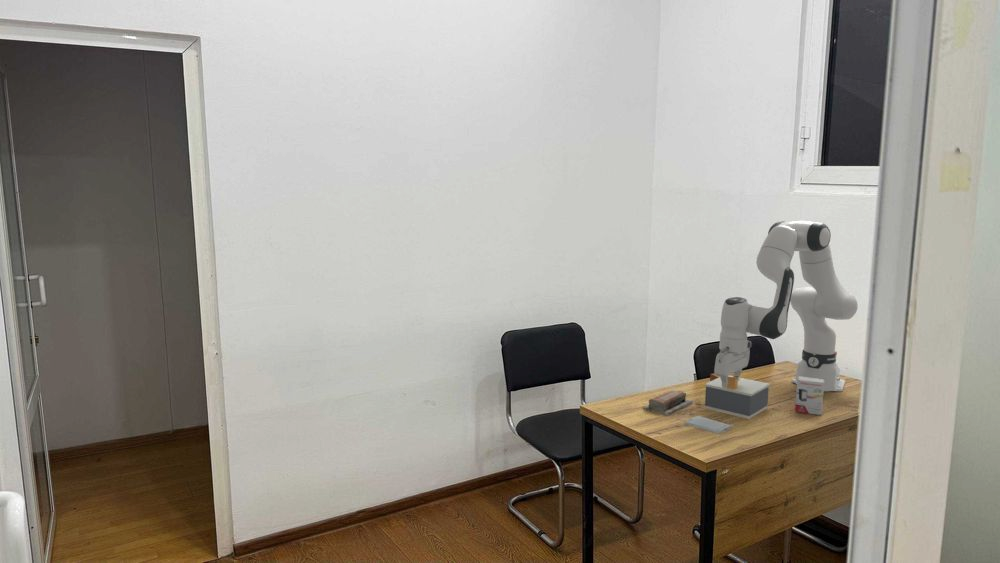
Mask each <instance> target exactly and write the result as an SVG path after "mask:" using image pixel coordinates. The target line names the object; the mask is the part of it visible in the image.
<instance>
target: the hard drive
mask: <svg viewBox="0 0 1000 563" xmlns="http://www.w3.org/2000/svg"><path fill="white" fill-rule="evenodd" d="M684 425H685V426H689V427H693V428H696V429H701V430H704V431H707V432H710V433H715V434H717V435H721V434H723V433H725V432H726V431H729V430H730V429H732V428H733V426H732V424H727V423H724V422H720V421H718V420H717V421H716V420H714V419H710V418H705V417H704V416H699V415H696V416H693V417H692V418H689V419H687V420H685V422H684Z"/></svg>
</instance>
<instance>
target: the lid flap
mask: <svg viewBox="0 0 1000 563" xmlns="http://www.w3.org/2000/svg"><path fill="white" fill-rule="evenodd" d="M733 376H734V375H733ZM733 376H729V375H728V378H727V381H728V386H727V387H722V381H721V378H720V377H719V378H717V379H715V380H713V381H710V380H709V381H708V382H706V383H705V384H704V387H705V388H706V387H711V388H715V389H720V390H724V391H729V392H733V393H738V394H743V395H747V396H753V395H755V394H756V393H758V392H760V391H762V390H764V389H766V388H767V387H769V388H770V387H771V383H768V382H763V381H759V380H754V379H749V378H743V377H740V380H739V381H738V378H734V377H733Z"/></svg>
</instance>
